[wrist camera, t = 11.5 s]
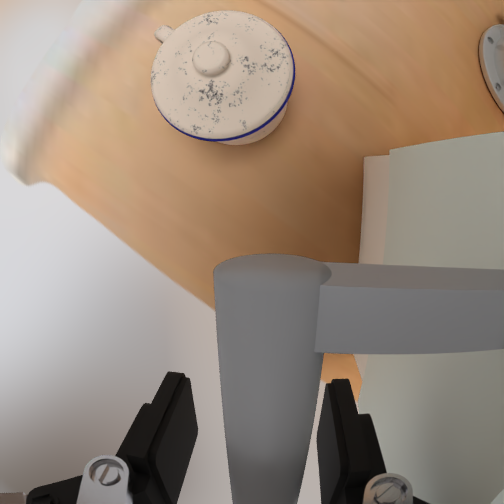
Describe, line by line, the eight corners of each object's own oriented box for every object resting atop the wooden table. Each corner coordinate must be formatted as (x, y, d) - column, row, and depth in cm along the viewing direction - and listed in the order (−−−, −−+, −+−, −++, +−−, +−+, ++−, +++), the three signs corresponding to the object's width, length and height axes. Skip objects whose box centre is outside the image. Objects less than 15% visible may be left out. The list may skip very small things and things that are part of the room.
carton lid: (401, 151, 17) (287, 144, 18) (641, 138, 1) (138, 49, 2) (367, 400, 22) (280, 396, 23) (378, 596, 6) (230, 592, 7)
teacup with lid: (312, 96, 24) (334, 52, 13) (240, 169, 27) (211, 173, 16) (214, 19, 23) (178, -49, 12) (147, 87, 25) (76, 54, 14)
